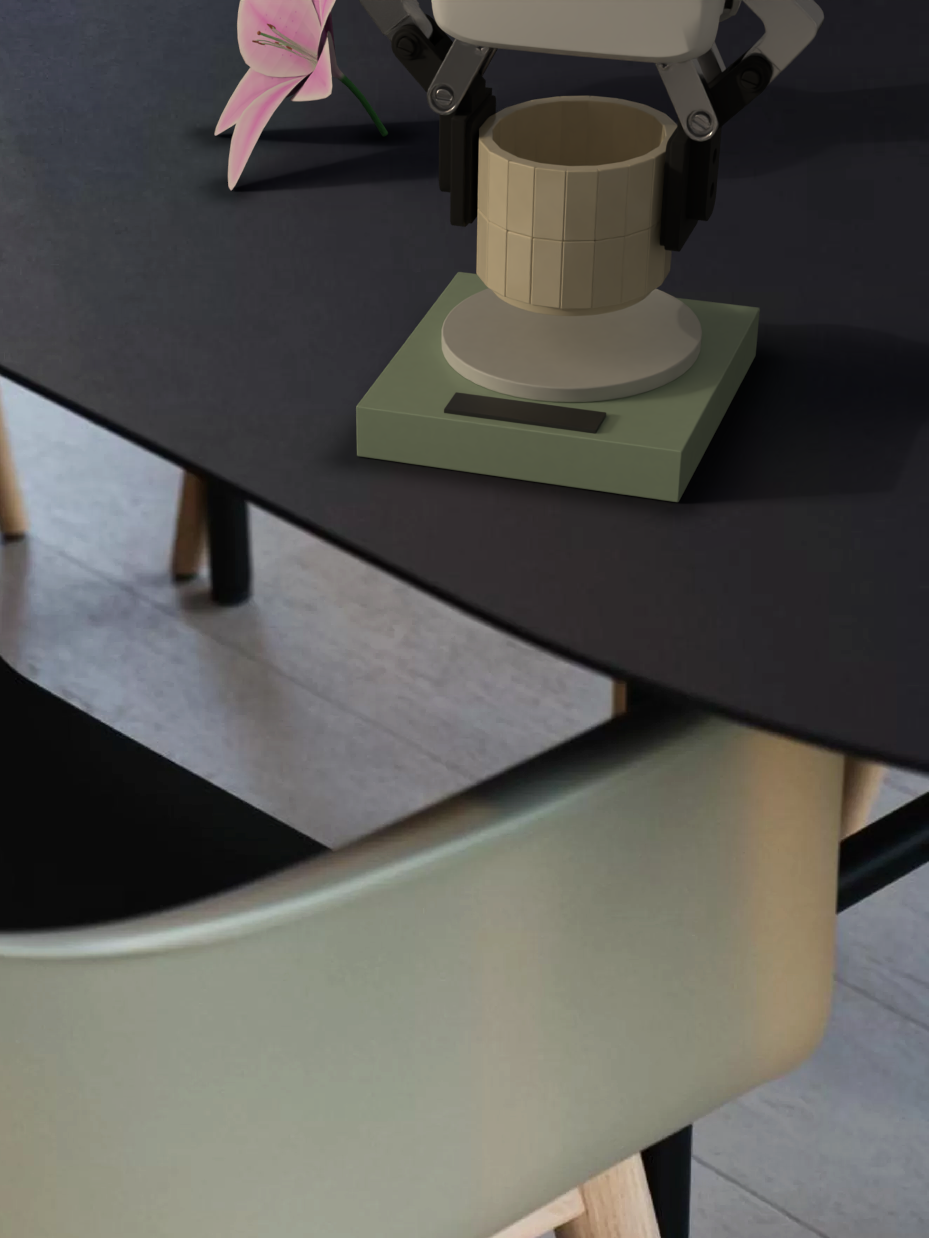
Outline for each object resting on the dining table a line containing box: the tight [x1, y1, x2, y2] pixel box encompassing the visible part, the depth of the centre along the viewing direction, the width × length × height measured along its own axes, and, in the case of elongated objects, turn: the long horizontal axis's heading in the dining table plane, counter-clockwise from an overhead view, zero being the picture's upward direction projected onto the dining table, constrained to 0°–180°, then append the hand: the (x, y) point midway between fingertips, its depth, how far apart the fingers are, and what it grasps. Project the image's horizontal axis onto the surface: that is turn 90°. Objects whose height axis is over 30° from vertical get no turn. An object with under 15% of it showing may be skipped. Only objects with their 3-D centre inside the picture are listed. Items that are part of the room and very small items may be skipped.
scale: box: [355, 271, 761, 503], centre depth 94 cm, size 12×12×3 cm
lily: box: [214, 0, 389, 191], centre depth 113 cm, size 12×12×10 cm
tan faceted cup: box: [475, 95, 678, 316], centre depth 91 cm, size 7×7×6 cm
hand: (574, 220), depth 91 cm, fingers closed on tan faceted cup, 7 cm apart
